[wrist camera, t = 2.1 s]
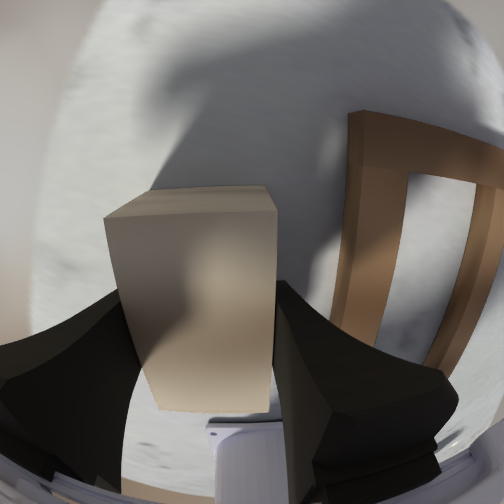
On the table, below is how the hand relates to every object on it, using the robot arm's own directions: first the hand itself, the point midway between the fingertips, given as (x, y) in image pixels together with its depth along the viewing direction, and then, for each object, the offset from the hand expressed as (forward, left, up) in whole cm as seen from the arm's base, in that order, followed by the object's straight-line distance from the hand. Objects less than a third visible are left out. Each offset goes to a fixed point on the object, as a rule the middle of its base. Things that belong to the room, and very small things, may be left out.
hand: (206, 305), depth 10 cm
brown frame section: (-1, -11, -2) cm, 11 cm away
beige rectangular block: (0, 0, -2) cm, 2 cm away
